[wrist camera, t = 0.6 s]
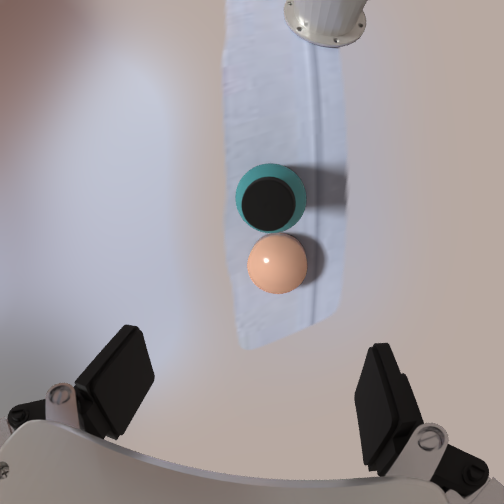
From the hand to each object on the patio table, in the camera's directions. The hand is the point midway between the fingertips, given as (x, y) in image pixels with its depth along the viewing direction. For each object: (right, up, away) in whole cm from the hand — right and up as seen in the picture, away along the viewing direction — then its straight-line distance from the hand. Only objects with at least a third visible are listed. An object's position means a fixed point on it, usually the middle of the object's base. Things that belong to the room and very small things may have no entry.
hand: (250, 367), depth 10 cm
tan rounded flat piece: (+4, +3, +31) cm, 32 cm away
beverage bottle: (+4, +14, +28) cm, 32 cm away
